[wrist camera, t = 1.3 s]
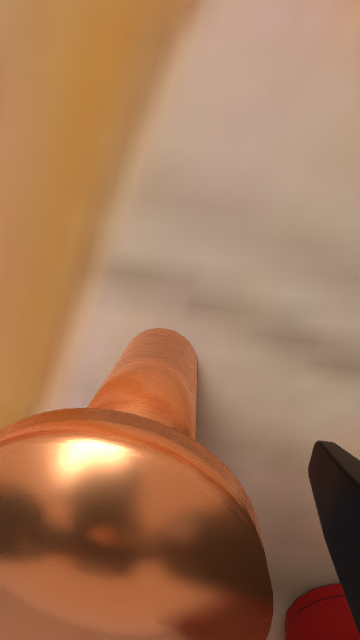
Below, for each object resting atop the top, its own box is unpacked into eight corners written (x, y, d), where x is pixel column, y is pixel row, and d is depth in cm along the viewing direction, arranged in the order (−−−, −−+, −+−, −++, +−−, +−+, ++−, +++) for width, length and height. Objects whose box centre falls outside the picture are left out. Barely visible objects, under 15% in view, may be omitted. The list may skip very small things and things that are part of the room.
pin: (232, 309, 12) (311, 475, 3) (215, 425, 13) (241, 738, 5) (100, 294, 12) (-120, 418, 4) (96, 410, 13) (-69, 687, 5)
